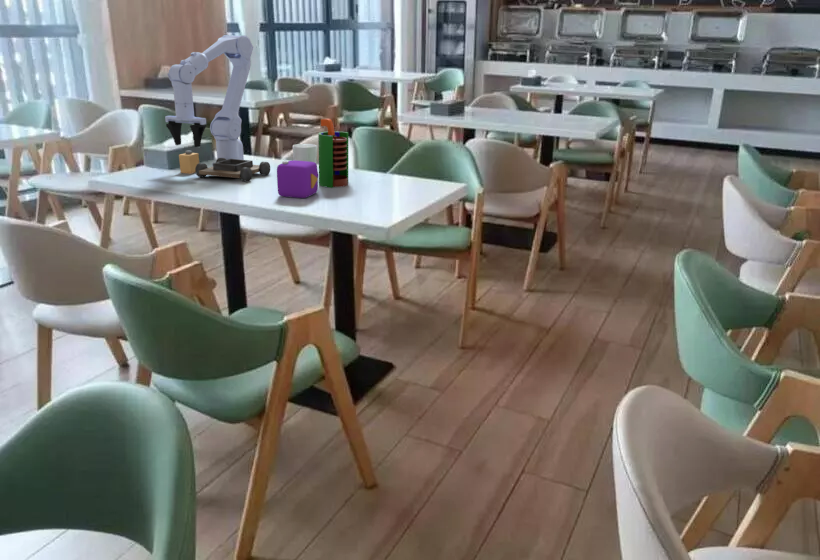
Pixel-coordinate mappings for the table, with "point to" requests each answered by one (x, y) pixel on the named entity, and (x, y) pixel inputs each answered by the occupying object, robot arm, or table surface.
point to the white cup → (305, 152)
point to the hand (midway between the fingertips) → (187, 145)
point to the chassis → (233, 169)
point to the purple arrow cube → (297, 179)
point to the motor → (333, 156)
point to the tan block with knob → (188, 162)
